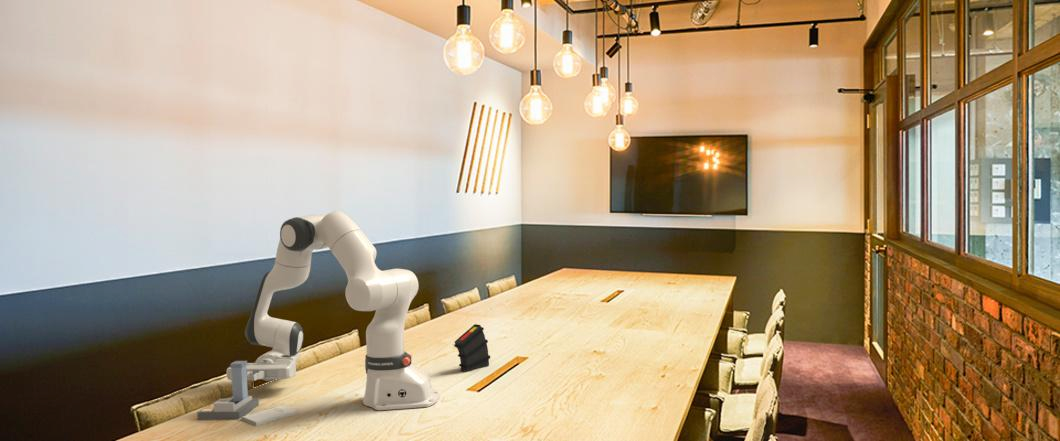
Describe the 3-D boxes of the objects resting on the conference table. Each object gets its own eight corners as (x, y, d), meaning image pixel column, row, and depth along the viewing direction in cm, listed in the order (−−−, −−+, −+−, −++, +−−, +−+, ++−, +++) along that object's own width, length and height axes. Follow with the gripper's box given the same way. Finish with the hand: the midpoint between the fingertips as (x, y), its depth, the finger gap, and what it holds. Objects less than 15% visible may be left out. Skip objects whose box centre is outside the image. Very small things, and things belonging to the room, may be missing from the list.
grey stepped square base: (258, 405, 199) (258, 390, 199) (239, 418, 187) (238, 403, 187) (219, 405, 200) (218, 391, 200) (197, 419, 188) (196, 403, 188)
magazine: (496, 359, 240) (482, 324, 235) (471, 382, 231) (456, 347, 226) (489, 357, 242) (474, 323, 237) (464, 380, 234) (449, 345, 229)
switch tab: (248, 398, 199) (247, 360, 198) (243, 401, 195) (241, 363, 195) (237, 398, 199) (235, 360, 199) (232, 401, 196) (230, 363, 195)
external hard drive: (241, 422, 187) (282, 409, 196) (256, 427, 181) (297, 415, 191) (241, 416, 186) (282, 404, 196) (256, 421, 181) (297, 409, 191)
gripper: (238, 357, 217) (215, 368, 204) (299, 356, 216) (281, 367, 202) (239, 376, 218) (216, 389, 204) (300, 375, 216) (282, 387, 203)
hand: (249, 378), depth 203 cm, fingers closed
